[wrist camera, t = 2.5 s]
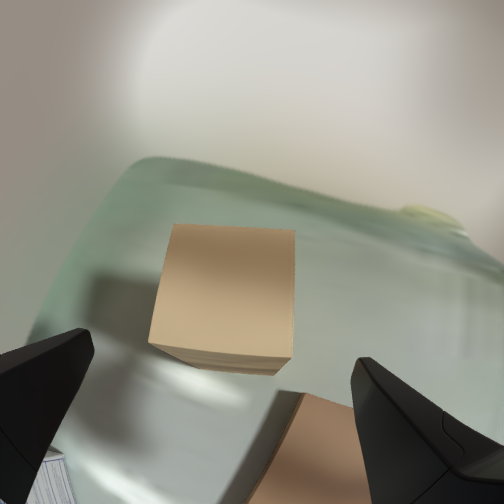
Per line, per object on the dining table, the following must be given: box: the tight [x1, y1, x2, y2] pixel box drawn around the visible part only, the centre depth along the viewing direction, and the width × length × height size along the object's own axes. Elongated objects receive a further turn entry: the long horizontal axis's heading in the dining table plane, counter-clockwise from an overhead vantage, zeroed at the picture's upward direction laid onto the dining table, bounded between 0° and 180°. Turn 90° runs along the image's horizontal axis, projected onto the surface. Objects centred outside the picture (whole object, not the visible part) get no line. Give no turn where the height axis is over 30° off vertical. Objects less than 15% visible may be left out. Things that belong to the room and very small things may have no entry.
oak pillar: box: [148, 224, 295, 376], centre depth 14 cm, size 5×5×10 cm
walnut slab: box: [244, 393, 372, 504], centre depth 13 cm, size 12×9×2 cm
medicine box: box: [0, 451, 77, 504], centre depth 7 cm, size 8×4×9 cm, turn 11°
